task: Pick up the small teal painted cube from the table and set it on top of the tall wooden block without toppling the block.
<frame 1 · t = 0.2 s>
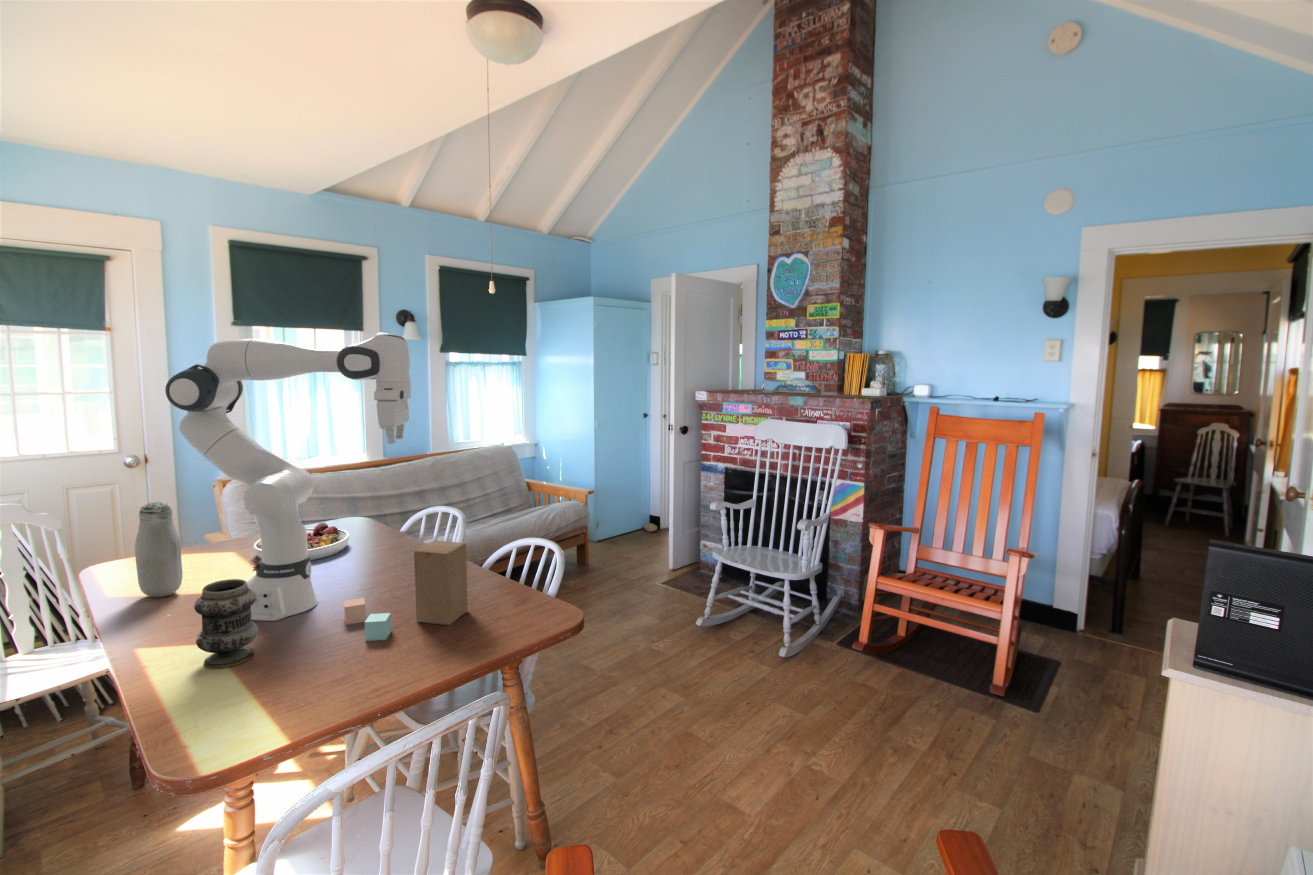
hand: (395, 441, 173), 47 cm above the table, fingers open, 8 cm apart
grey rounded bottle: (162, 595, 181), on the table
wooden block: (442, 617, 169), on the table
teal cube: (378, 635, 157), on the table
bowl: (303, 552, 224), on the table
apothecary jar: (229, 659, 145), on the table
clay block: (355, 619, 167), on the table
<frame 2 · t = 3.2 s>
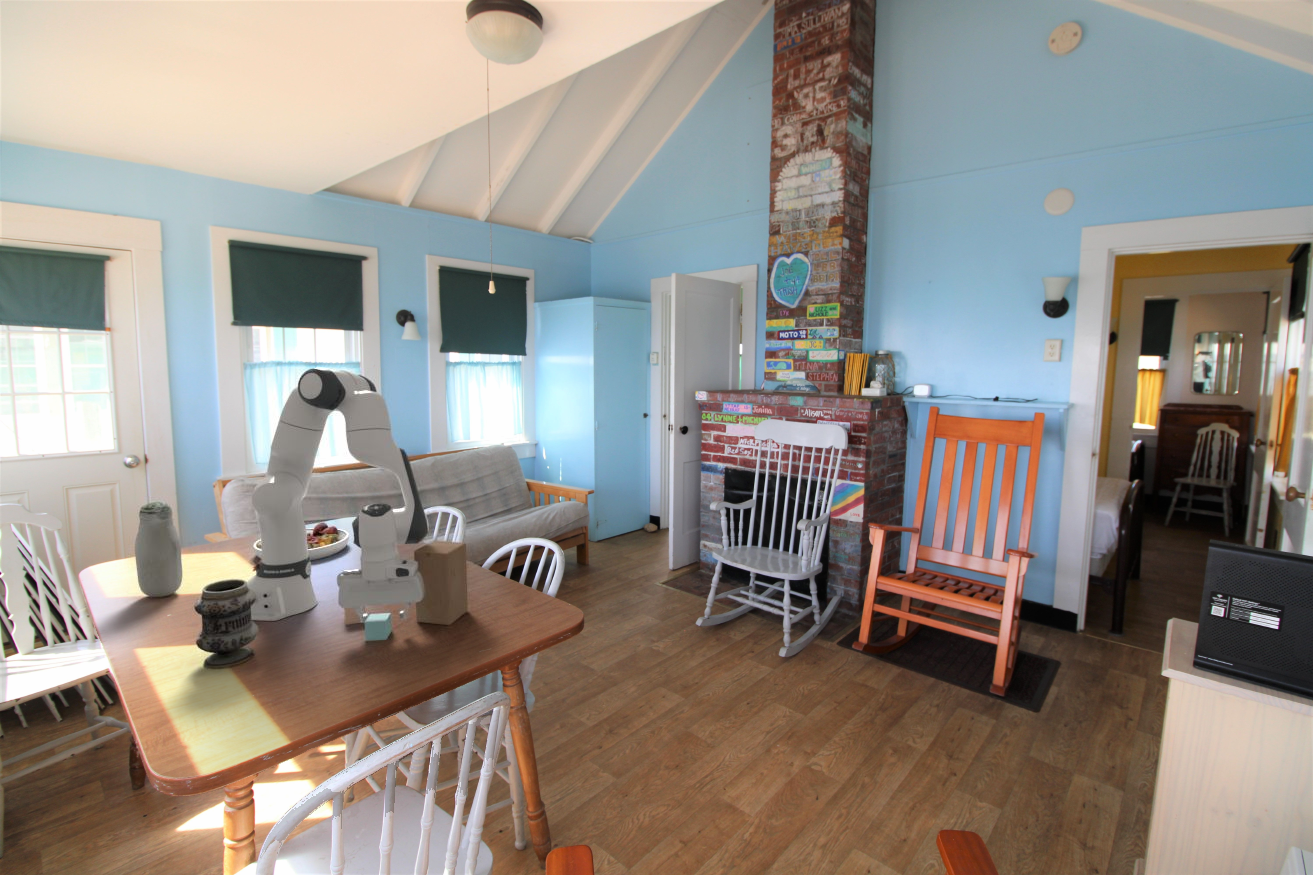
hand: (384, 619, 158), 4 cm above the table, fingers open, 8 cm apart
nothing on the table moved.
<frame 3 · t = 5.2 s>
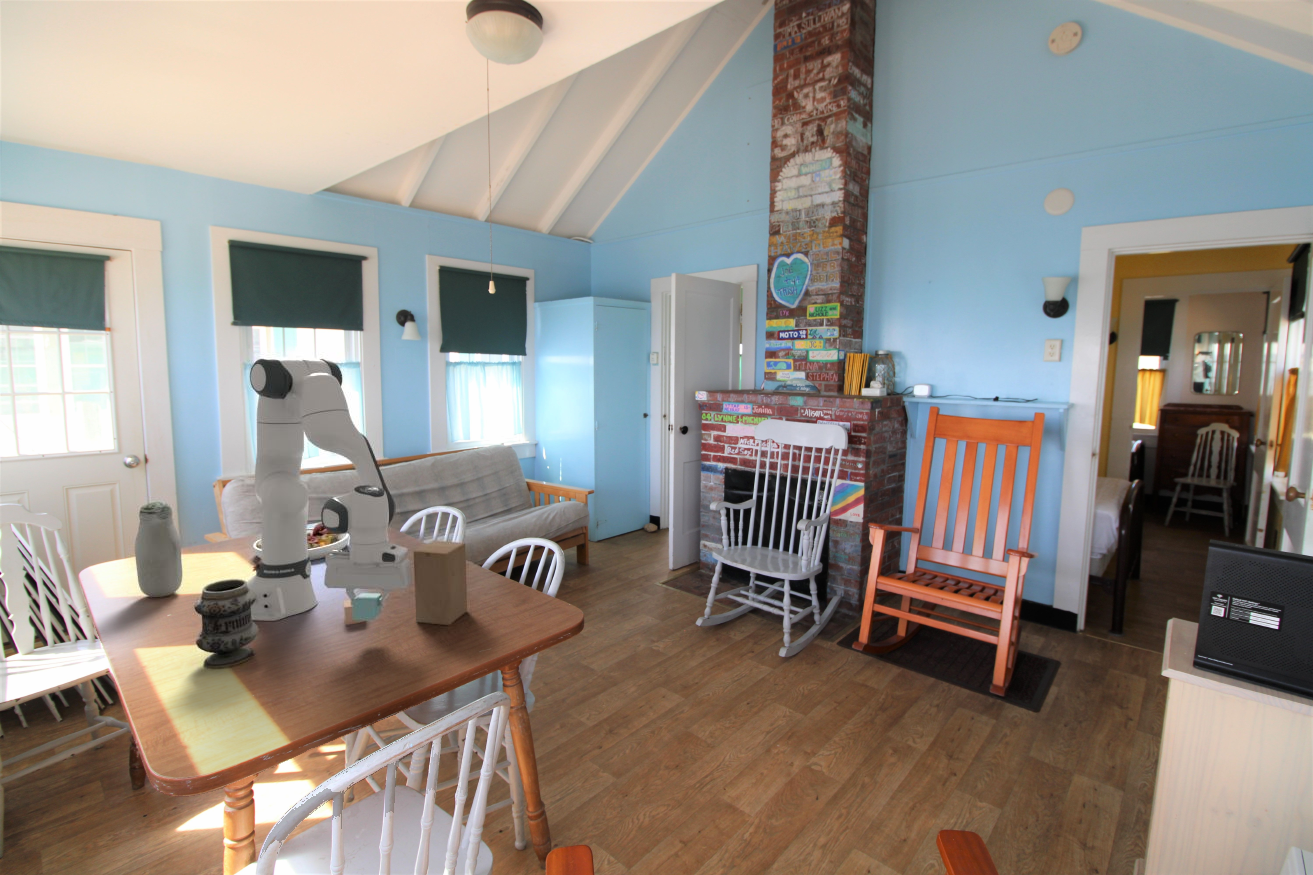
hand: (368, 604, 154), 9 cm above the table, fingers closed on teal cube, 5 cm apart
teal cube: (367, 615, 154), point 6 cm above the table, touching gripper
everything else where it was.
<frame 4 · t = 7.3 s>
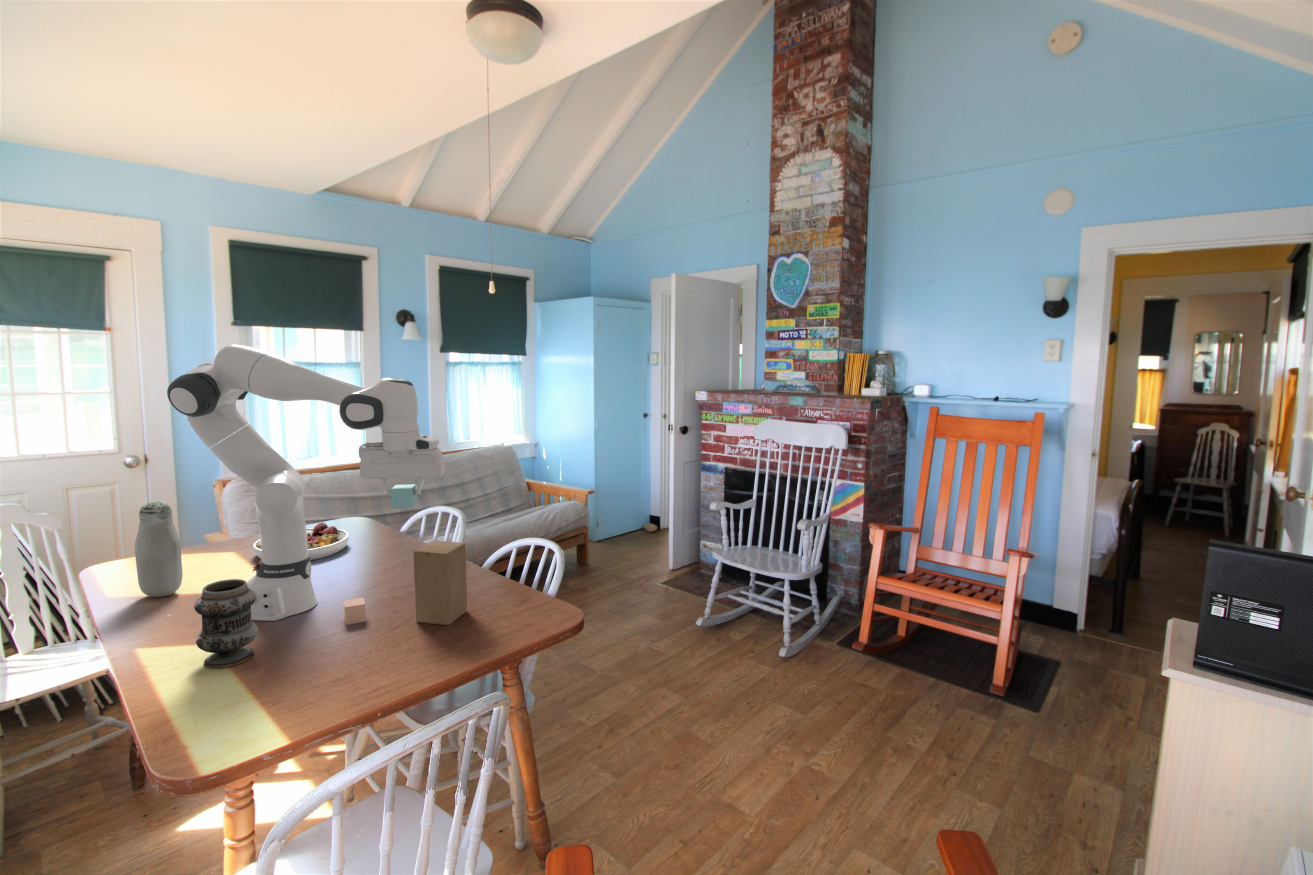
hand: (404, 494, 158), 36 cm above the table, fingers closed on teal cube, 5 cm apart
teal cube: (404, 505, 158), point 33 cm above the table, touching gripper
everything else where it was.
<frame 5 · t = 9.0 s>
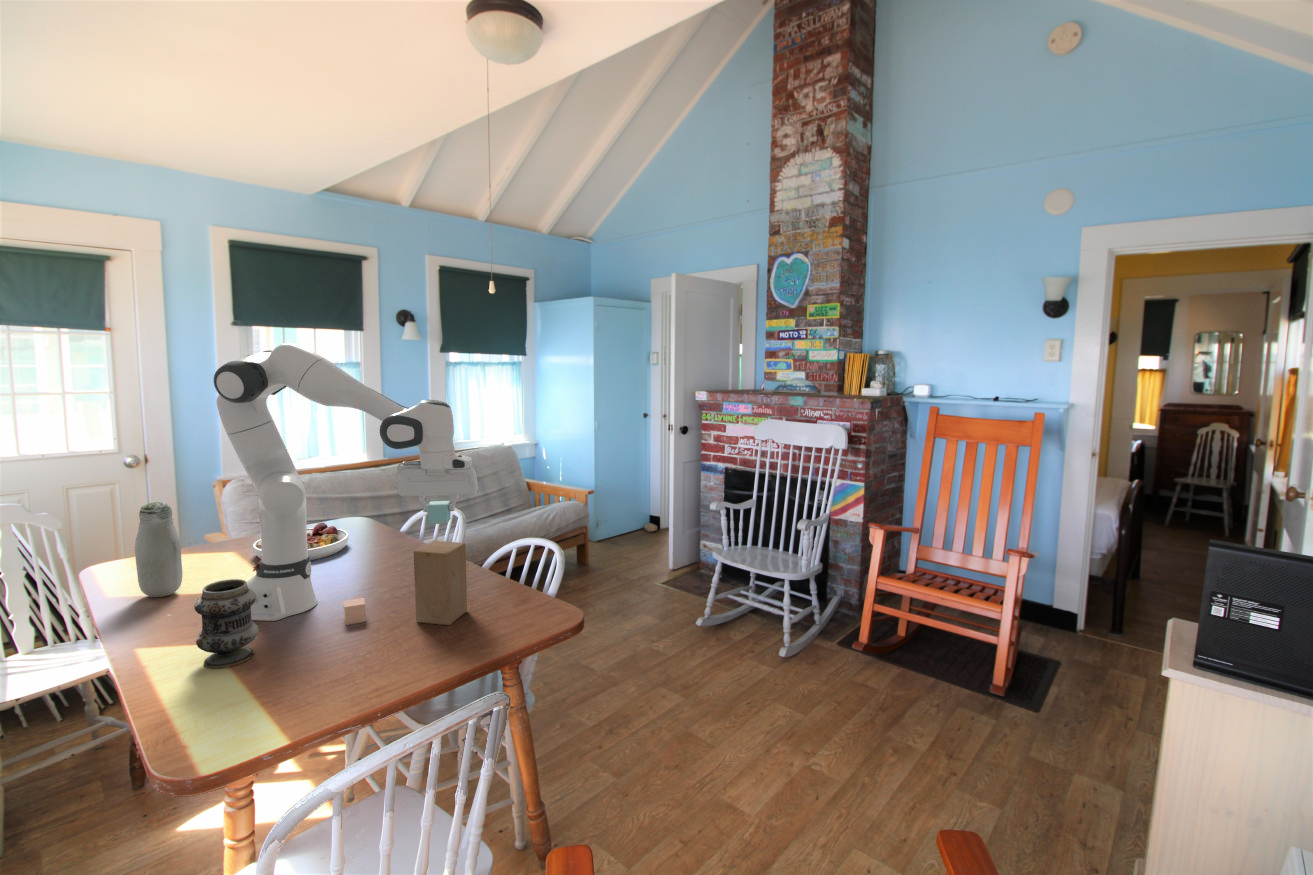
hand: (439, 511, 166), 30 cm above the table, fingers closed on teal cube, 5 cm apart
teal cube: (439, 521, 166), point 27 cm above the table, touching gripper
everything else where it was.
when the fingers open (23 cm above the table, at t = 10.6 s): teal cube stays where it is, resting on wooden block.
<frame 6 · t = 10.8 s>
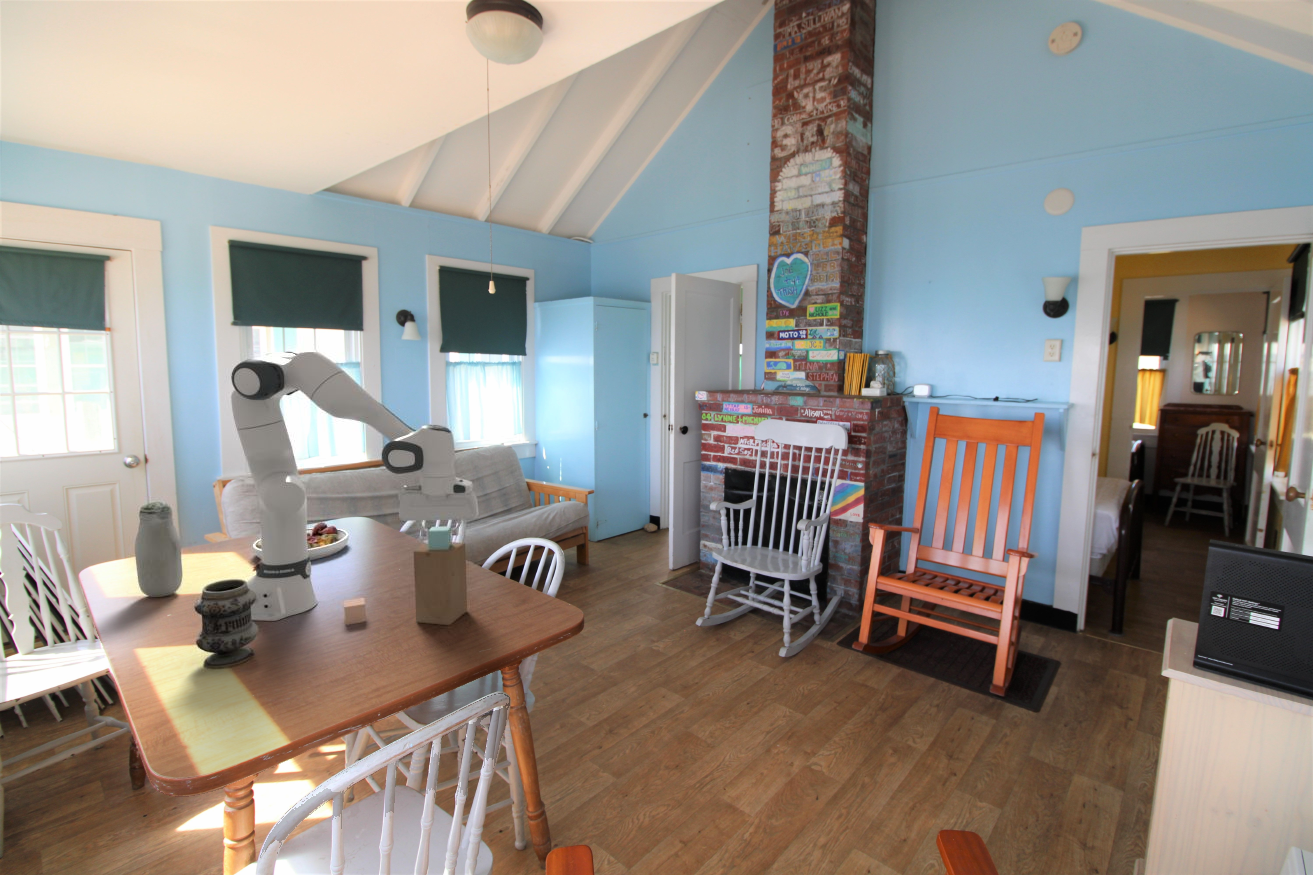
hand: (440, 535, 166), 23 cm above the table, fingers open, 7 cm apart
wooden block: (442, 617, 169), on the table, touching teal cube
teal cube: (440, 546, 167), point 20 cm above the table, touching wooden block
everything else where it was.
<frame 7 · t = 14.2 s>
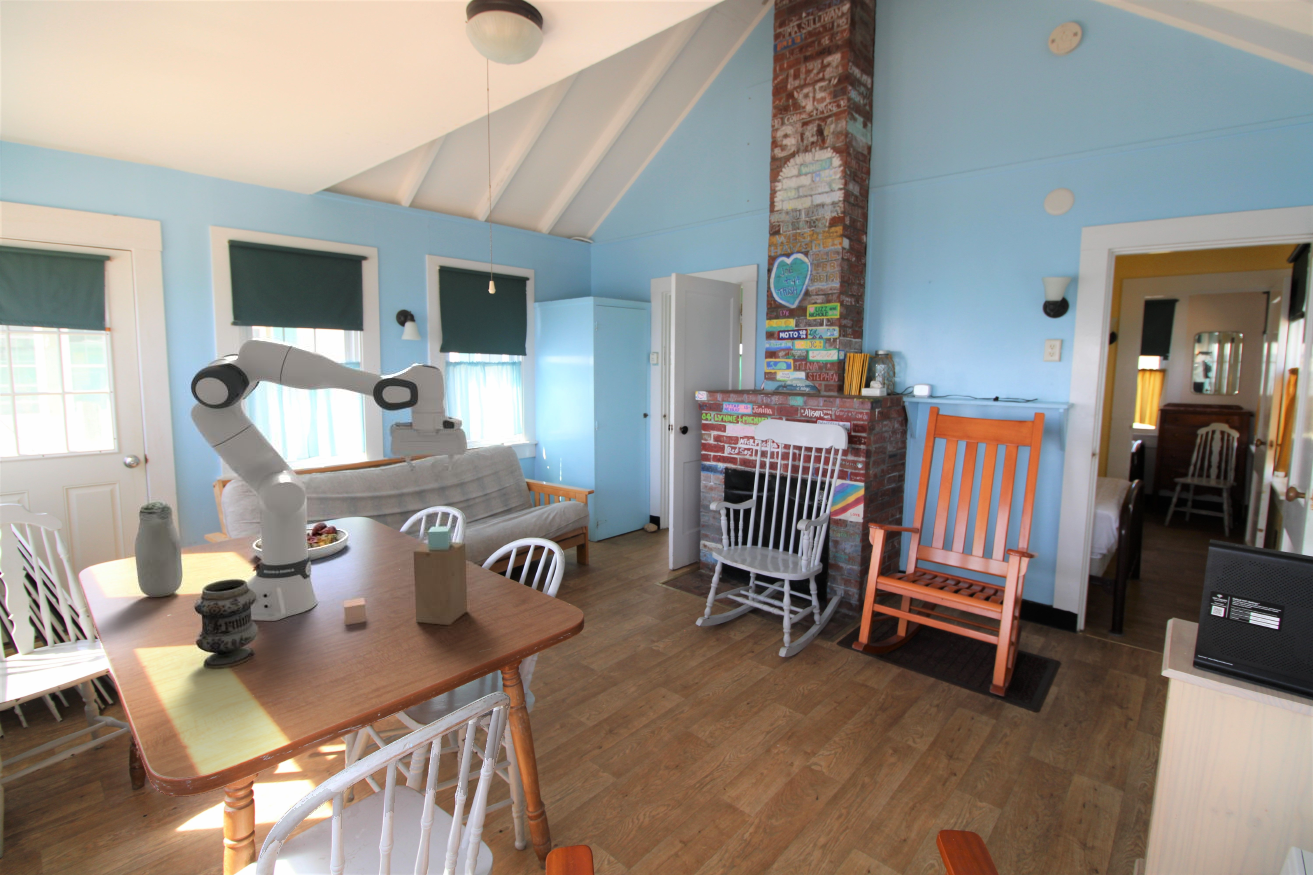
hand: (430, 470, 174), 39 cm above the table, fingers open, 8 cm apart
nothing on the table moved.
at the end: teal cube 0.3 cm from the wooden block (horizontally); teal cube point 19.9 cm above the table; wooden block tilted 0° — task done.
